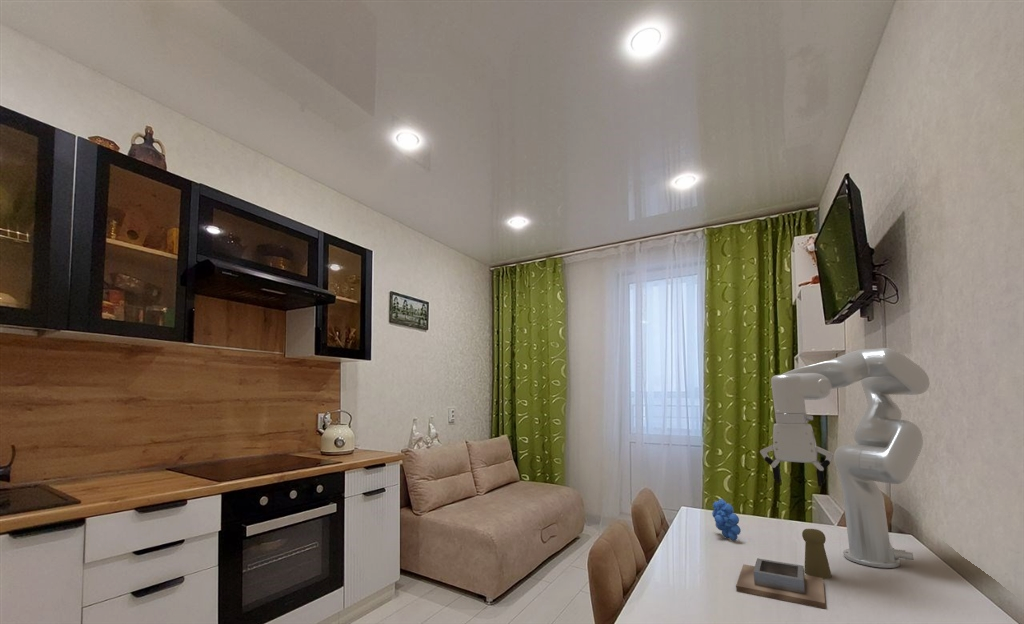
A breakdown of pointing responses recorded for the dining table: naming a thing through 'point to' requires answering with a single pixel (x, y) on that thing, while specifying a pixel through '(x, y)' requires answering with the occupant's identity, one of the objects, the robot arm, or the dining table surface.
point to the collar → (779, 575)
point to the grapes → (726, 519)
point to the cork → (815, 554)
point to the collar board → (811, 596)
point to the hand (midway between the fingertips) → (799, 483)
